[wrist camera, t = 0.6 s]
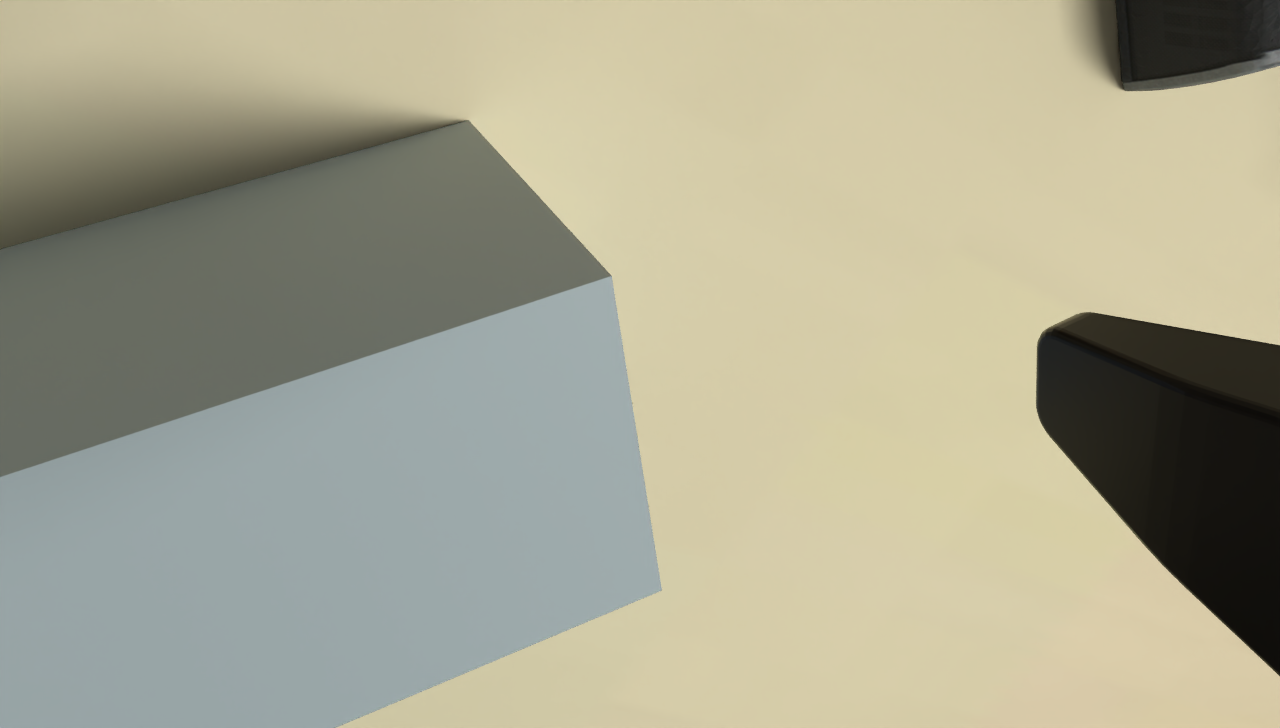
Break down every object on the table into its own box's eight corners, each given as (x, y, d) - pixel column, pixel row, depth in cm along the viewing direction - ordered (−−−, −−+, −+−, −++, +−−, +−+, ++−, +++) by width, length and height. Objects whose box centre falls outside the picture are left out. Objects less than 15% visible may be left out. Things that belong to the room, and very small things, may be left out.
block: (525, 381, 23) (661, 590, 18) (-80, 592, 20) (-143, 928, 14) (466, 118, 20) (611, 276, 14) (-277, 321, 17) (-453, 625, 11)
